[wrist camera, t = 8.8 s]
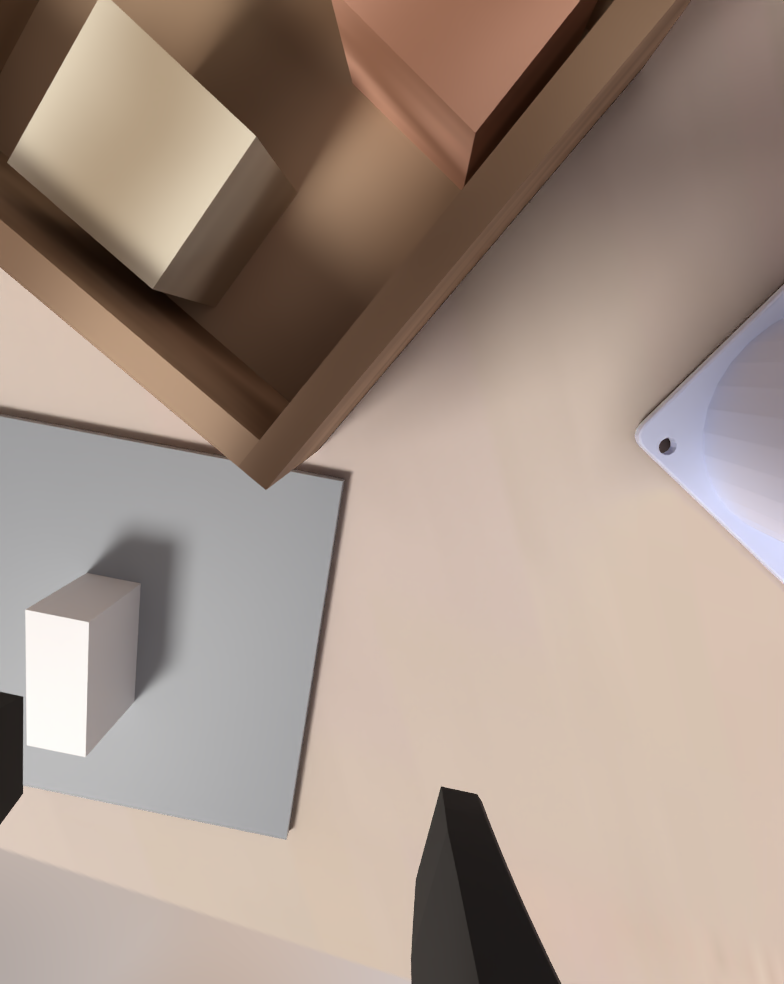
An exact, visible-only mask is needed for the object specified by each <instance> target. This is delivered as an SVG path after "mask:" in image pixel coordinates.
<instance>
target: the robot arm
mask: <svg viewBox="0 0 784 984" xmlns="http://www.w3.org/2000/svg"><path fill="white" fill-rule="evenodd" d="M665 438H669V440H670V447H669V449H668V450H667V451H665V452H664V453H661V452H660V451H659V444H660V442H661V441H662V440H664V439H665ZM635 440H636V442H637V444H638V445H639V446H640V447H641V448H642V449H643V450H644V451H645V452H646V453H647V454H648V455H649V456H650V457H651V458H652V459H653V460H654V461H655V462H656V463H657V464H658V465H659V466H660V467H661V468H663V469H664V470H665V471H666V472H667V473H668V474H669V475H670V476H671V477H672V478H673V479H674V480H675V481H676V482H677V483H678V484H679V485H680V486H681V487H682V488H683V489H684V490H685V491H687V492H688V493H689V494H690V495H691V496H692V497H693V498H694V499H695V500H696V501H697V502H698V503H699V504H700V505H701V506H702V507H703V508H704V509H705V510H706V511H707V512H708V513H710V514H711V515H712V516H713V517H714V518H715V519H716V520H717V521H718V522H719V523H720V524H721V525H722V526H723V527H724V528H725V529H726V530H727V531H728V532H729V533H730V534H731V535H733V536H734V537H735V538H736V539H737V540H738V541H739V542H740V543H741V544H742V545H743V546H744V547H745V548H746V549H747V550H748V551H749V552H750V553H751V554H752V555H753V556H754V557H756V558H757V559H758V560H759V561H760V562H761V563H762V564H763V565H764V566H765V567H766V568H767V569H768V570H769V571H770V572H771V573H772V574H773V575H774V576H775V577H776V578H777V579H779V580H780V581H781V582H782V583H783V584H784V284H783V285H782V286H781V287H780V288H779V289H778V290H777V291H776V292H775V293H774V294H773V295H772V296H771V297H770V298H769V299H768V300H767V301H766V302H765V303H764V304H763V305H762V306H761V307H760V308H759V309H758V310H757V311H756V312H754V313H753V314H752V315H751V316H750V317H749V318H748V319H747V320H746V321H745V322H744V323H743V324H742V325H741V326H740V327H739V328H738V329H737V330H736V331H735V332H734V333H733V334H732V335H731V336H730V337H729V338H728V339H727V340H726V341H725V342H724V343H723V344H722V345H720V346H719V347H718V348H717V349H716V350H715V351H714V352H713V353H712V354H711V355H710V356H709V357H708V358H707V359H706V360H705V361H704V362H703V363H702V364H701V365H700V366H699V367H698V368H697V369H696V370H695V371H694V372H693V373H692V374H691V375H690V376H689V377H688V378H686V379H685V380H684V381H683V382H682V383H681V384H680V385H679V386H678V387H677V388H676V389H675V390H674V391H673V392H672V393H671V394H670V395H669V396H668V397H667V398H666V399H665V400H664V401H663V402H662V403H661V404H660V405H659V406H658V407H657V408H656V409H655V410H654V411H653V412H651V413H650V414H649V415H648V416H647V417H646V418H645V419H644V420H643V421H642V422H641V423H640V424H639V426H638V427H637V429H636V432H635ZM22 794H23V696H18V695H13V694H9V693H4V692H0V824H1V823H2V821H3V820H4V819H5V817H6V816H7V815H8V813H9V812H10V810H11V809H12V808H13V806H14V805H15V804H16V802H17V801H18V800H19V798H20V797H21V795H22ZM411 977H412V984H561V982H560V980H559V978H558V976H557V974H556V972H555V970H554V968H553V966H552V964H551V962H550V960H549V958H548V955H547V953H546V951H545V949H544V947H543V945H542V943H541V940H540V938H539V936H538V934H537V932H536V930H535V927H534V925H533V923H532V921H531V919H530V917H529V915H528V912H527V910H526V908H525V906H524V904H523V901H522V899H521V897H520V895H519V892H518V890H517V888H516V885H515V883H514V881H513V878H512V876H511V874H510V871H509V869H508V867H507V864H506V862H505V859H504V857H503V855H502V852H501V850H500V847H499V845H498V842H497V840H496V837H495V835H494V832H493V830H492V827H491V825H490V822H489V819H488V817H487V814H486V812H485V809H484V806H483V804H482V801H481V800H480V798H479V797H478V795H477V794H473V793H469V792H464V791H459V790H455V789H450V788H445V787H441V789H440V792H439V796H438V800H437V804H436V807H435V811H434V815H433V818H432V822H431V826H430V829H429V833H428V837H427V840H426V844H425V848H424V852H423V855H422V859H421V863H420V866H419V870H418V874H417V877H416V886H415V902H414V917H413V934H412V952H411Z"/></svg>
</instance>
